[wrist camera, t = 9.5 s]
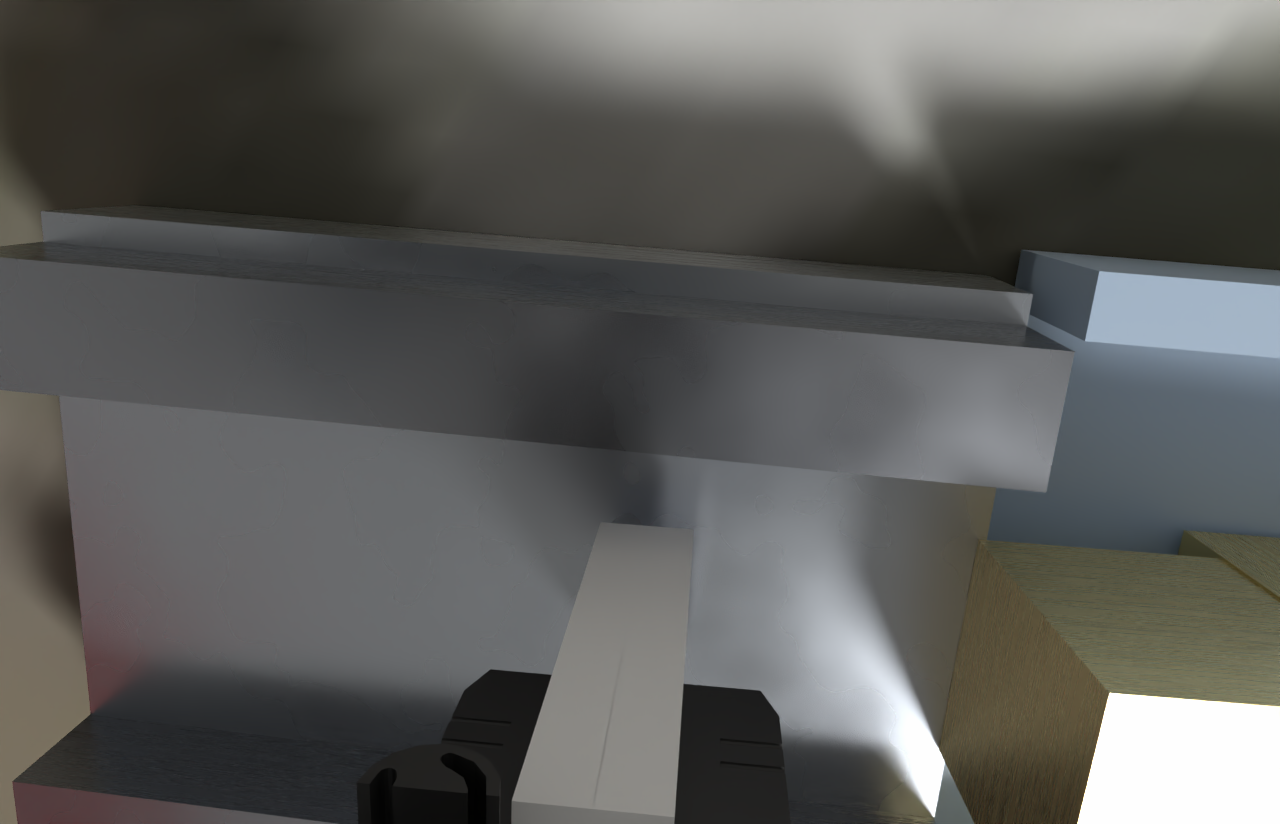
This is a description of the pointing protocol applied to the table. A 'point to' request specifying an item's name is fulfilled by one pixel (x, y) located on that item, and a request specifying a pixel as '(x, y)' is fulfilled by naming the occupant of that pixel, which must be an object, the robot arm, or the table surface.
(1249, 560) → the brass block
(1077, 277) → the tray
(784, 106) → the table surface
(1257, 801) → the brass block
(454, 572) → the slotted deck
